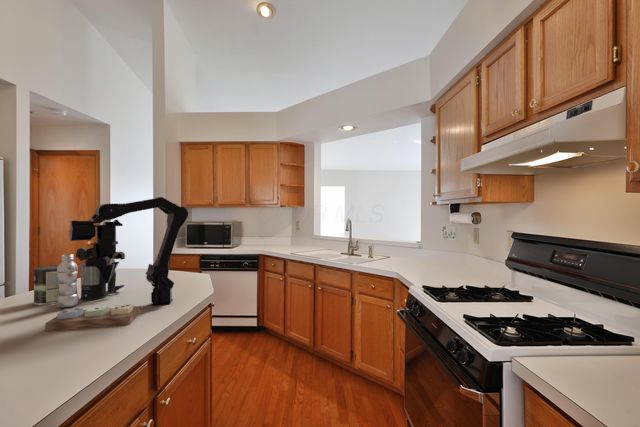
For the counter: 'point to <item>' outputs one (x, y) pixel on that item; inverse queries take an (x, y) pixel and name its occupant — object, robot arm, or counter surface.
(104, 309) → the tile
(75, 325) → the board
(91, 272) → the milk frother
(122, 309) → the tile
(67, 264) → the plastic bottle
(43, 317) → the counter surface
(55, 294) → the coffee can
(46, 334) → the counter surface
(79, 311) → the tile
